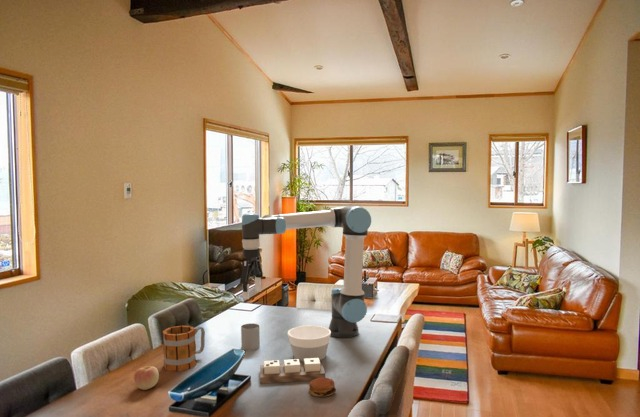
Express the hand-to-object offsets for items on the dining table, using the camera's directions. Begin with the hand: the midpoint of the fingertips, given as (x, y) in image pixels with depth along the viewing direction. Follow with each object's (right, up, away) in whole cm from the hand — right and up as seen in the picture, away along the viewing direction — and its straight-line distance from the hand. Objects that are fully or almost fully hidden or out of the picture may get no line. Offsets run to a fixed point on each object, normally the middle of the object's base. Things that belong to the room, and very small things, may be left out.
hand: (252, 295), depth 217 cm
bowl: (+26, -26, -4) cm, 37 cm away
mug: (-27, -27, -11) cm, 40 cm away
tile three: (+11, -26, -26) cm, 39 cm away
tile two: (+19, -26, -25) cm, 41 cm away
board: (+19, -27, -25) cm, 42 cm away
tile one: (+27, -25, -25) cm, 45 cm away
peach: (-35, -29, -35) cm, 57 cm away
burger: (+31, -29, -41) cm, 59 cm away
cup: (-2, -26, +7) cm, 27 cm away
